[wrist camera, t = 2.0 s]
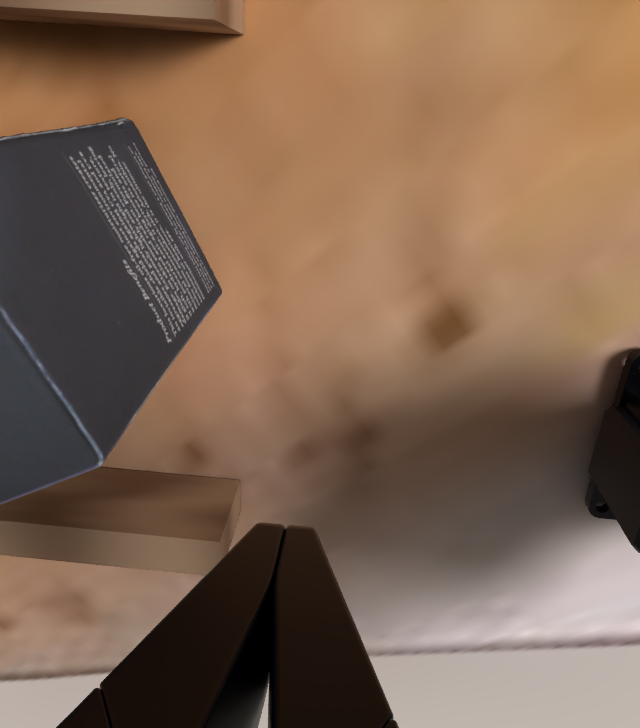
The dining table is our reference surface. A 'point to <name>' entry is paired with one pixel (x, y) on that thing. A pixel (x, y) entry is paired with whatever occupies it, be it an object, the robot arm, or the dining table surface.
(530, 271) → the dining table surface
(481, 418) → the dining table surface
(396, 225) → the dining table surface
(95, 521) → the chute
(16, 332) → the small box
